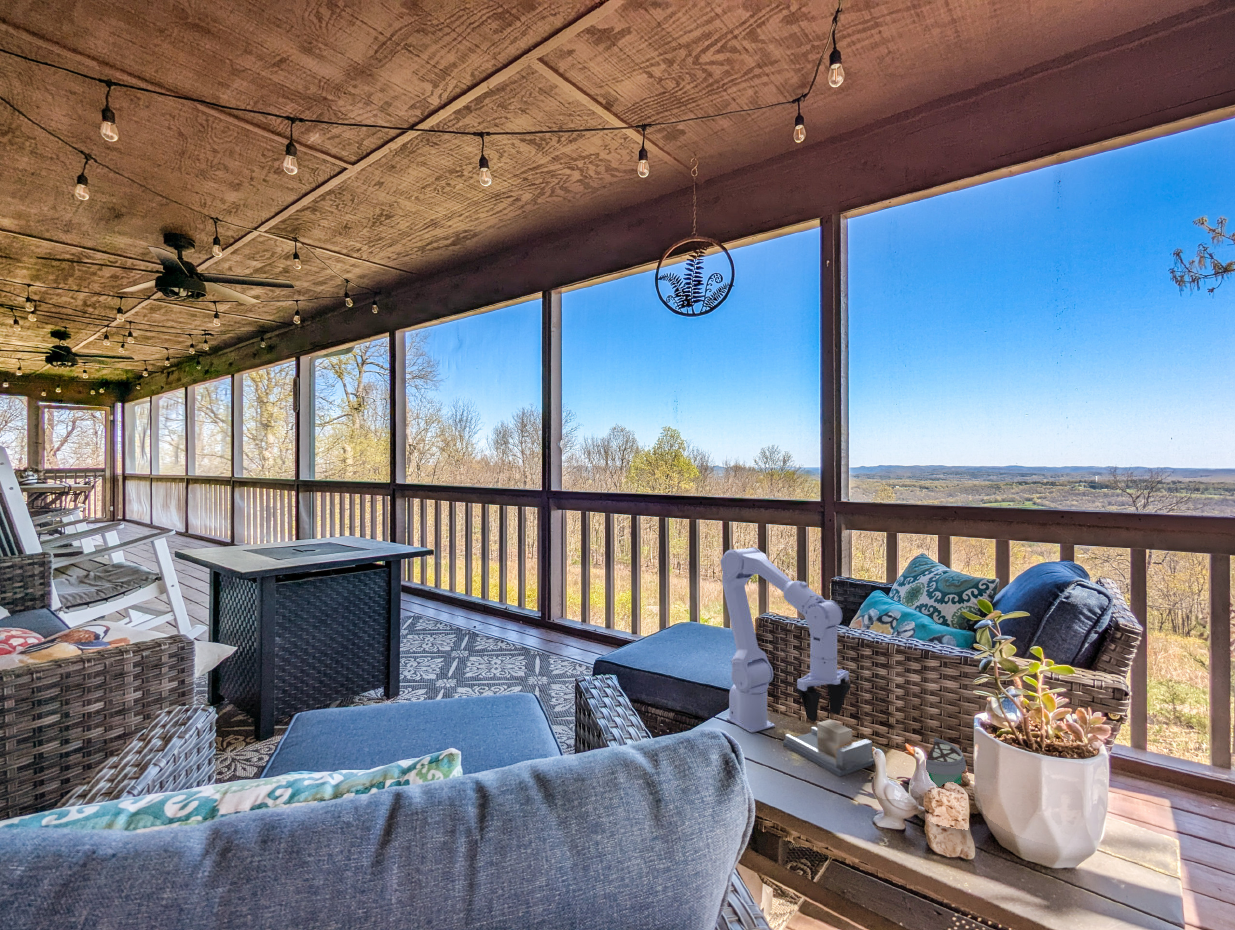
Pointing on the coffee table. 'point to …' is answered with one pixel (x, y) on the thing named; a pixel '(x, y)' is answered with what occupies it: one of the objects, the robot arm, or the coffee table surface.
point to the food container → (945, 763)
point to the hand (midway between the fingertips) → (823, 716)
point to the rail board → (844, 763)
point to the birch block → (832, 736)
